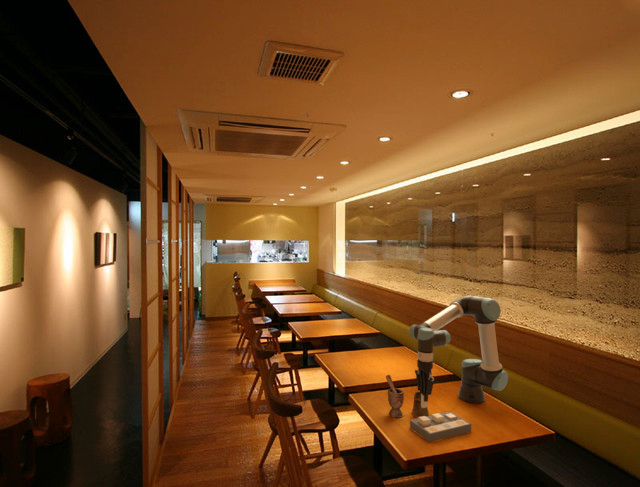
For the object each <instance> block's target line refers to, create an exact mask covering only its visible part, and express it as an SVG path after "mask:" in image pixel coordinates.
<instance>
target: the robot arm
mask: <svg viewBox="0 0 640 487" xmlns="http://www.w3.org/2000/svg"><path fill="white" fill-rule="evenodd" d="M500 314H501V306H500V303H499V302H498V301H497V300H496V299H494V298H490V297H483V296H482V297H481V296H474V295H464V296H462V297H459V298H457V299H455V300H454V301H451V302H450V303H449V305H448V306H447V307H445V308H444V309H442V310H441V311H439V312H438V313H436V314H435V315H433V316H432V317H430V318H429V319H426V320H425V321H423V322H422V323H420V324H412V325H411V326H410V327H409V329H408V334H409V336H410V337H411V338H413V339H415V340H417V356H416V357H417V360H416V361H417V362H416V363H417V364H416V366H417V369H416V370H415V369H414V373H415V378H416V384H417V385H416V386H417V392H420V393H421V407H422V408H426V407H427V408H428V402H429V396H430V395H432V392H433V386H434V384H435V383H434V382H435V380H436V377H433V375H432V374H433V373H432V369H433V368H434V361H433V360H434V348H435V347H440V346H446V345H449V344H450V342H451V337H452V336H451V334H450V333H449V332H448V330H446V329H441V328H444V327H445V326H446V325H448V324H449V323H451V322H452V321H454V320H456V319H457V318H462V317H464V316H471V317H474V322H475V324H476V325H477V326H478V327H477V328H478V334H479V341H480V351H481V359H482V360H481V359H478V358H466V359H463V360H462V362H461V384H460V386H459V390H458V392H457V394H458V398H459V399H461V400H462V401H465V402H469V403H475V404H480V403H483V402H485V401H486V395H485V393H484V389H483V387H487V388H490V389H492V390H493V391H494V390H495V391H498V392H499V391H503V390H504V389H505V388H506V386H507V384H508V382H509V374H508V372H507V371H506V370H503V369H504V368H503V364H501V363H500V361H499V351H498V343H497V335H496V327H495V326H496V325H495V324H496V323H497V321H498V320H499V318H500V317H501V315H500Z"/></svg>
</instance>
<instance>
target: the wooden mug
mask: <svg viewBox="0 0 640 487" xmlns="http://www.w3.org/2000/svg"><path fill="white" fill-rule="evenodd" d="M429 413H430V412H429V408H428V406H427V407H426V408H422V407H421V393H420V391H415V392H414V395H413V407H412V410H411V414H412V415H413V416H415V417H417V418H419V417H422V416H426V417H427V416H430V414H429Z"/></svg>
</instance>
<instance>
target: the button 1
mask: <svg viewBox="0 0 640 487" xmlns="http://www.w3.org/2000/svg"><path fill="white" fill-rule="evenodd" d="M418 418H419V419H418V423H419V424H421V425H422V426H427V425H430V419H429V418H427V417H426V416H422V417H418Z"/></svg>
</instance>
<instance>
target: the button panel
mask: <svg viewBox="0 0 640 487" xmlns="http://www.w3.org/2000/svg"><path fill="white" fill-rule="evenodd" d="M449 413H452V414H453V415H455V416H457V419H454V420H449V419H448V418H446V417H445V414H449ZM439 414H441V415H442V416H444V422H441V423H436V422H435V421H433V420H432V414H431V415H428V416H427V418H429V419H430V425H427V426H422V425H421V424H419V423H418V419H419V417H417V418H414V419H410V420H409V428H410V430H412V431H413V432H415V433H416V434H418V435H419V436H420V437H422V439H424V440H425V441H426V442H428V443H433V442H437V441H441V440H445V439H449V438H452V437H457V436H461V435H465V434H469V433H472V423H471V422H469V421H467V420H466V419H464V418H462V417H460V416H459V415H457V414H455V413H453V412H451V411H445V412H441V413H439Z"/></svg>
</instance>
